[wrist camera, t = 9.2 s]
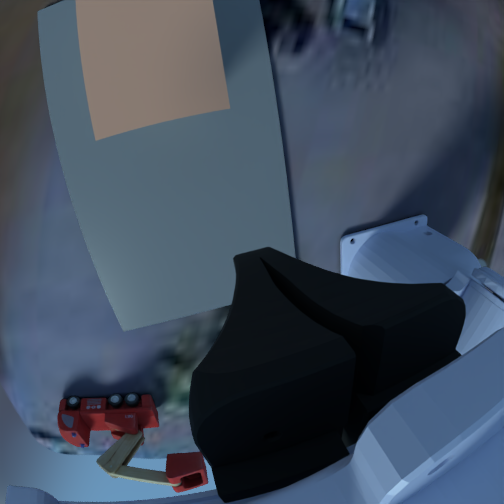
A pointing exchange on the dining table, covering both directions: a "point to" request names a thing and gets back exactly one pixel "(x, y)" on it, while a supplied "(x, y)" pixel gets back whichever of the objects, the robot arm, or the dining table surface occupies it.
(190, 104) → the tan rectangular block
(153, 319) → the baseplate
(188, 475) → the toy fire truck
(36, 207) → the dining table surface
